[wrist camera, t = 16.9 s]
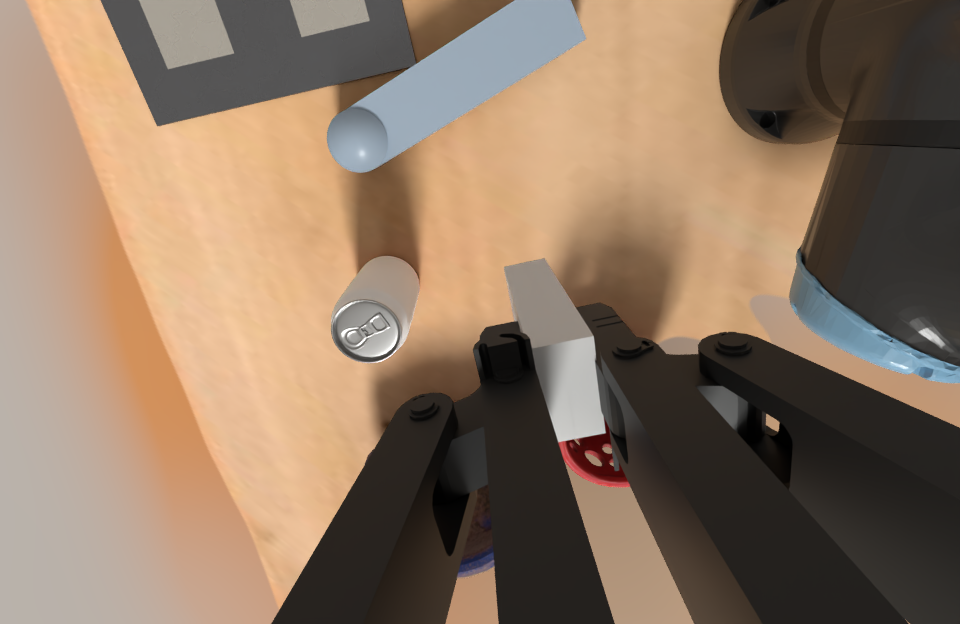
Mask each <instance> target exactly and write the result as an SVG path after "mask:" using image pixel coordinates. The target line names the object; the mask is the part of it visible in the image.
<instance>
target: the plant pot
mask: <svg viewBox="0 0 960 624" xmlns="http://www.w3.org/2000/svg"><path fill="white" fill-rule="evenodd" d="M604 424H605V432H606V433H604V434H598V435H593V436H588V437H583V438H578V439H577V440H578V442H579V443H580V445H578V444H577V443H576V442H575V441H574V439H572V440H567V441H562V442H558V443H559V446H560V449H561V452H562V456H563V459H564V461H565V462H566V463H567V465H568V466H569V467H570V468H571V469H572V470H573V471H574V472H575V473H576V474H578V475H579V476H581V477H582V478H584V479H586V480H588V481H590V482H593V483H596V484H599V485H603V486H609V487H629V486H630V484H629V482H628V480H627V478H626V476H625V474H624V472H623V469H622V467H621V465H620V463H619V471H615V470H614V466H611V465H610V464H609V463H611V462H613V454H607V453H605V452H604V451H603V450H602V448H603V447H610V448H611V449H612V446H611V438H610V429H609V426H608V424H607V422H606V420H605V418H604ZM585 453H588V454H591V455H593V456H595V457H597V458H598V459H599V460H600V461H601V463H602V466H596V465H593V464H592V463H591V462H590V461H589V460H588V459H587V458H586V456H585Z"/></svg>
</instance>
